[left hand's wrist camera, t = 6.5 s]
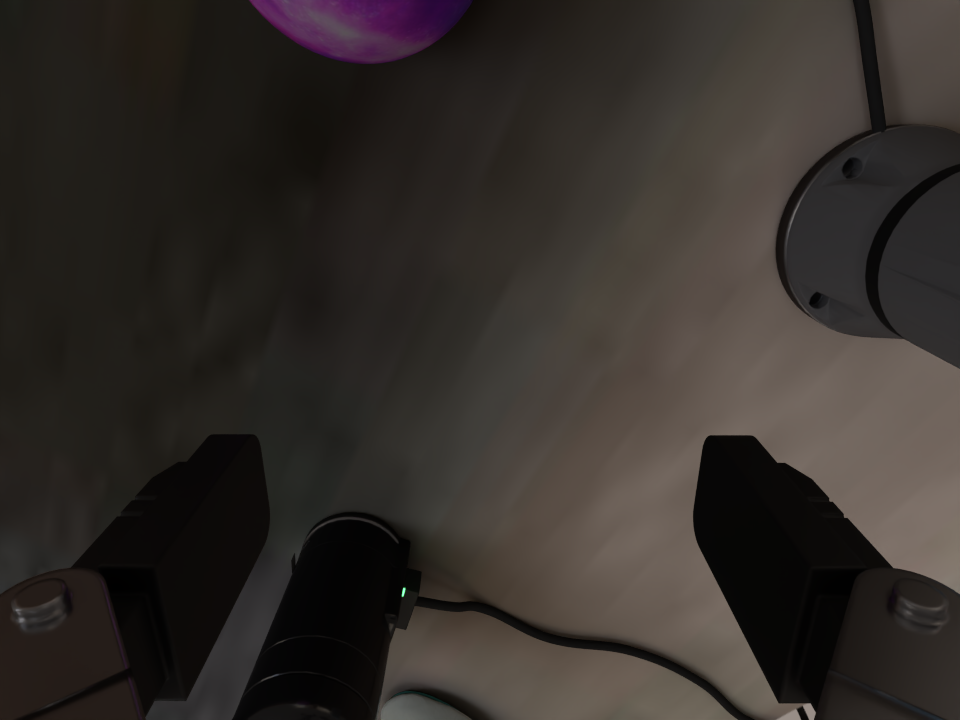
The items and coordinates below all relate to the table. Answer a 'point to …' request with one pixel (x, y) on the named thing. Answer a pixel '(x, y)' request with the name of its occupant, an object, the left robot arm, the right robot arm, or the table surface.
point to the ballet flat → (419, 708)
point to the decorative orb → (363, 25)
